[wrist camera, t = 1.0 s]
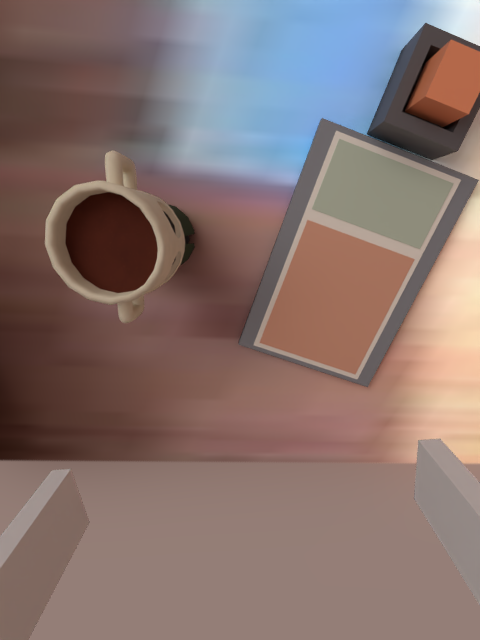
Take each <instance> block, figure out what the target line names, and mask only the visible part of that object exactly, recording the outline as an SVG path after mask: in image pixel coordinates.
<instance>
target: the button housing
mask: <svg viewBox="0 0 480 640" xmlns="http://www.w3.org/2000/svg"><path fill="white" fill-rule="evenodd" d="M450 40H454V41H456V42H458V43H461V44H463V45H465V46H468V47H470V48H472V49H475V50H477V51H479V52H480V46H478V45H476V44H473V43H471V42H469V41H466V40H464V39H462V38H459V37H457V36H455V35H452V34H450V33H448V32H445V31H443V30H441V29H438V28H436V27H434V26H432V25H429V24H427V23H425V24H424V25H423V26H422V28H421V29H420V30H419V31H418V32H417V33H416V34H415V36H414V37H413V38H412V39H411V40H410V41H409V42H408V44H407V45H406V46H405V47H404V48H403V49H402V51H401V53H400V56H399V58H398V60H397V63H396V65H395V68H394V70H393V73H392V75H391V77H390V80H389V82H388V85H387V87H386V89H385V92H384V94H383V97H382V99H381V101H380V104H379V106H378V109H377V111H376V114H375V116H374V118H373V121H372V123H371V126H370V128H369V130H368V133H367V134H368V135H371V136H373V137H376V138H378V139H381V140H383V141H386V142H388V143H391V144H393V145H396V146H398V147H401V148H403V149H406V150H408V151H411V152H414V153H416V154H419V155H421V156H424V157H426V158H429V159H431V160H433V159H436V158H439V157H442V156H445V155H448V154H450V153H453V152H456V151H458V150H459V148H460V146H461V144H462V142H463V140H464V138H465V136H466V134H467V132H468V130H469V128H470V126H471V124H472V122H473V120H474V118H475V116H476V114H477V112H478V110H479V108H480V93H479V95H478V97H477V99H476V101H475V103H474V105H473V107H472V109H471V111H470V113H469V114H468V115H466V116H464V117H462V118H460V119H458V120H456V121H454V122H452V123H450V124H448V125H446V126H444V127H441V126H439V125H436V124H434V123H431V122H429V121H426V120H424V119H422V118H419V117H417V116H414V115H412V114H409V113H407V112H405V109H406V107H407V105H408V102H409V100H410V98H411V96H412V93H413V91H414V89H415V86H416V84H417V82H418V80H419V77H420V75H421V73H422V71H423V68H424V66H425V64H426V62H427V61H428V60H429V59H430V58H431V57H433V56H434V55H435V54H436V53H437V52H438V51H439V50H440V49H441V48H442V47H443V46H445V45H446V44H447V43H448V42H449V41H450Z"/></svg>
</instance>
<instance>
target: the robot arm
mask: <svg viewBox="0 0 480 640" xmlns="http://www.w3.org/2000/svg"><path fill="white" fill-rule="evenodd" d="M414 492H415V493H414V500H415V501H416V503H417V504H418V506H419V508H420V509H421V511H422V513H423V514H424V516H425V517H426V519H427V521H428V522H429V524H430V526H431V527H432V529H433V530H434V532H435V534H436V535H437V537H438V538H439V540H440V542H441V543H442V545H443V547H444V548H445V550H446V551H447V553H448V555H449V556H450V558H451V560H452V561H453V563H454V564H455V566H456V568H457V569H458V571H459V573H460V574H461V576H462V577H463V579H464V581H465V582H466V584H467V586H468V587H469V589H470V590H471V592H472V594H473V595H474V597H475V599H476V600H477V602H478V603H479V605H480V482H479V481H478V480H477V479H476V478H475V477H474V476H473V474H471V472H470V471H469V470H468V469H467V468H466V467H465V466H464V465H463V463H462V462H461V461H460V460H459V459H458V458H457V457H456V456H455V455H454V454H453V452H452V451H451V450H450V449H449V448H448V447H447V446H446V445H445V444H444V443H443V441H442V440H441V439H429V440H418V452H417V465H416V478H415V491H414ZM88 524H89V519H88V516H87V514H86V511H85V508H84V505H83V502H82V499H81V497H80V493H79V491H78V488H77V485H76V482H75V479H74V477H73V473H72V471H71V469H63V470H52V471H51V472H50V473H49V475H48V476H47V477H46V478H45V480H44V481H43V482H42V484H41V485H40V486H39V488H38V489H37V490H36V491H35V493H34V494H33V495H32V496H31V498H30V499H29V500H28V501H27V503H26V504H25V505H24V507H23V508H22V509H21V510H20V512H19V513H18V514H17V516H16V517H15V518H14V519H13V521H12V522H11V523H10V524H9V526H8V527H7V528H6V530H5V531H4V532H3V534H2V535H1V536H0V640H28V639H29V638H30V636H31V634H32V632H33V630H34V628H35V625H36V624H37V622H38V620H39V618H40V616H41V614H42V613H43V611H44V609H45V607H46V605H47V603H48V601H49V599H50V597H51V595H52V593H53V592H54V590H55V588H56V586H57V584H58V582H59V580H60V578H61V576H62V574H63V572H64V570H65V568H66V567H67V565H68V563H69V561H70V559H71V557H72V555H73V553H74V551H75V549H76V547H77V545H78V543H79V541H80V539H81V538H82V536H83V534H84V532H85V530H86V528H87V525H88Z"/></svg>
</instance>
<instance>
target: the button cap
mask: <svg viewBox="0 0 480 640" xmlns="http://www.w3.org/2000/svg"><path fill="white" fill-rule="evenodd" d="M479 93H480V52H479V51H477V50H475V49H472V48H470V47H468V46H465V45H463V44H461V43H458V42H456V41H454V40H450V41H449V42H448V43H447V44H446V45H445V46H443V47H442V48H441V49H440V50H439V51H438V52H437V53H436V54H435V55H434V56H433V57H431V58H430V59H429V60H428V61H427V62H426V64H425V66H424V68H423V71H422V73H421V75H420V77H419V80H418V82H417V84H416V86H415V89H414V91H413V93H412V96H411V98H410V100H409V102H408V105H407V107H406V109H405V112H407V113H409V114H412V115H414V116H417V117H419V118H422V119H424V120H426V121H429V122H431V123H434V124H436V125H439V126H441V127H444V126H446V125H448V124H450V123H452V122H454V121H456V120H458V119H460V118H462V117H464V116H466V115H468V114H469V113H470V111H471V109H472V107H473V105H474V103H475V101H476V99H477V97H478V95H479Z"/></svg>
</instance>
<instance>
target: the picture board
mask: <svg viewBox="0 0 480 640" xmlns="http://www.w3.org/2000/svg"><path fill="white" fill-rule="evenodd" d="M477 182H478V180H477V179H475V178H472V177H470V176H467V175H465V174H462V173H460V172H457V171H454V170H452V169H449V168H447V167H444V166H442V165H439V164H437V163H434V162H432V161H429V160H427V159H424V158H422V157H419V156H417V155H414V154H411V153H409V152H406V151H404V150H401V149H399V148H396V147H394V146H391V145H389V144H386V143H384V142H381V141H379V140H376V139H374V138H371V137H369V136H366V135H363V134H361V133H358V132H356V131H353V130H351V129H348V128H346V127H343V126H341V125H338V124H336V123H333V122H331V121H328V120H326V119H323V118H322V119H321V121H320V123H319V125H318V128H317V131H316V133H315V136H314V139H313V142H312V144H311V147H310V150H309V152H308V155H307V158H306V161H305V163H304V166H303V169H302V171H301V174H300V177H299V180H298V182H297V185H296V188H295V190H294V193H293V196H292V199H291V201H290V204H289V207H288V209H287V212H286V215H285V218H284V220H283V223H282V226H281V228H280V231H279V234H278V237H277V239H276V242H275V245H274V247H273V250H272V253H271V256H270V258H269V261H268V264H267V266H266V269H265V272H264V275H263V277H262V280H261V283H260V285H259V288H258V291H257V294H256V296H255V299H254V302H253V304H252V307H251V310H250V313H249V315H248V318H247V321H246V323H245V326H244V329H243V332H242V334H241V337H240V340H239V345H241V346H244V347H247V348H251V349H254V350H257V351H260V352H263V353H266V354H269V355H272V356H275V357H278V358H281V359H284V360H287V361H290V362H293V363H296V364H299V365H302V366H305V367H308V368H311V369H314V370H317V371H320V372H323V373H326V374H329V375H332V376H335V377H338V378H342V379H345V380H348V381H351V382H354V383H357V384H360V385H363V386H366V387H368V385H369V383H370V382H371V380H372V378H373V376H374V374H375V372H376V370H377V369H378V367H379V365H380V363H381V361H382V359H383V357H384V356H385V354H386V352H387V350H388V348H389V346H390V344H391V342H392V341H393V339H394V337H395V335H396V333H397V331H398V329H399V328H400V326H401V324H402V322H403V320H404V318H405V316H406V315H407V313H408V311H409V309H410V307H411V305H412V303H413V302H414V300H415V298H416V296H417V294H418V292H419V290H420V288H421V287H422V285H423V283H424V281H425V279H426V277H427V275H428V274H429V272H430V270H431V268H432V266H433V264H434V262H435V261H436V259H437V257H438V255H439V253H440V251H441V249H442V248H443V246H444V244H445V242H446V240H447V238H448V236H449V234H450V233H451V231H452V229H453V227H454V225H455V223H456V221H457V220H458V218H459V216H460V214H461V212H462V210H463V208H464V207H465V205H466V203H467V201H468V199H469V197H470V195H471V193H472V192H473V190H474V188H475V186H476V184H477Z"/></svg>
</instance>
